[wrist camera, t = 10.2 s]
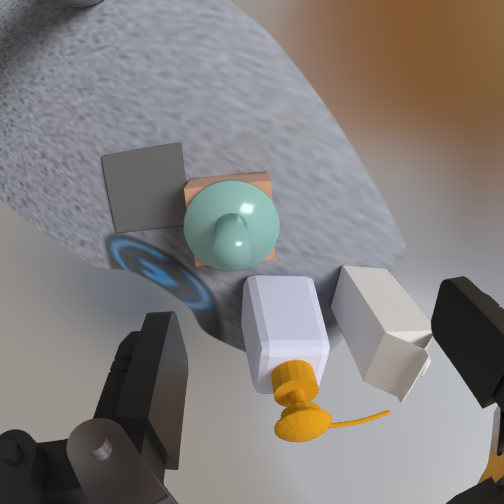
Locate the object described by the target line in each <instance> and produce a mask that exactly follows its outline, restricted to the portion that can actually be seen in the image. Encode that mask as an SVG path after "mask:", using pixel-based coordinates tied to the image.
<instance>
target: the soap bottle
mask: <svg viewBox="0 0 504 504" xmlns="http://www.w3.org/2000/svg"><path fill="white" fill-rule="evenodd" d="M241 327H242V332H243V337H244V342H245V347H246V352H247V357H248V362H249V367H250V372H251V377H252V381H253V385H254V387H255V389H256V391H257V392H259V393H262V394H274V399H275V401H276V402H277V403H278V404H280V405H282V406H285V407H287V408H286V409H284V410H283V412H282V414H281V419H280V420H278V421H277V423H276V425H275V427H274V429H275V434H276V435H277V436H278V437H279V438H280V439H283V440H286V441H290V442H305V441H310V440H312V439H315V438H317V437H319V436H320V435H322V434H323V433H325V432H326V430H327V429H328V428H336V427H343V426H351V425H356V424H361V423H364V422H368V421H371V420H374V419H377V418H380V417H382V416H385V415H388V414H390V411H388V410H386V411H384V412H381V413H378V414H375V415H373V416H370V417H366V418H362V419H358V420H353V421H346V422H339V423H332V417H331V415H330V414H329V413H328V412H327V411H324V410H321V408H320V407H319V406H318V404H316V403H313V402H310V401H312V400H313V399H314V398H315V397H316V395H317V394H318V387H319V384H320V381H321V378H322V375H323V371H324V368H325V365H326V361H327V357H328V354H329V350H330V345H329V341H328V337H327V333H326V329H325V325H324V321H323V317H322V313H321V309H320V305H319V301H318V297H317V293H316V290H315V286H314V282H313V279H311V278H308V277H305V276H266V275H253V276H250V277H248V278H247V279H246V281H245V283H244V285H243V302H242V319H241Z"/></svg>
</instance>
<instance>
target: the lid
mask: <svg viewBox="0 0 504 504" xmlns="http://www.w3.org/2000/svg"><path fill="white" fill-rule="evenodd" d="M279 226H280V224H279V217H278V213H277V211H276V208H275V206H274V204H273V202H272V201H271V199H270V198H269V196H268V195H267V194H266V193H265V192H264V191H263V190H261V189H260V188H259V187H257V186H255V185H253V184H251V183H249V182H246V181H242V180H234V179H230V180H221V181H218V182H214V183H212V184H210V185H208V186H206V187H205V188H203V189H202V190H201V191H200V192H198V193H197V195H196V196H195V197H194V198H193V200H192V201H191V203H190V205H189V207H188V209H187V211H186V214H185V218H184V235H185V239H186V242H187V244H188V246H189V248H190V250H191V251H192V253H193V254H194V255H195V256H196V257H197V258H198V259H199V260H200V261H202V262H203V263H204V264H206V265H208V266H210V267H212V268H215V269H218V270H222V271H241V270H245V269H248V268H251V267H253V266H255V265H257V264H259V263H260V262H261V261H263V260H264V259H265V258H266V257H267V256H268V255H269V254H270V253H271V251H272V250H273V248H274V246H275V244H276V242H277V239H278V236H279Z"/></svg>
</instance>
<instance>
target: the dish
mask: <svg viewBox="0 0 504 504" xmlns="http://www.w3.org/2000/svg"><path fill="white" fill-rule="evenodd" d="M230 179H234V180H242V181H246V182H249V183H251V184H253V185H255V186H257V187H259V188H260V189H261V190H263V191H264V192H265V193H266V194H267V195H268V196H269V198H270V199H271V201H272V187H271V179H270V178H269V176H268V174H267V172H255V173H244V174H233V175H223V176H213V177H204V178H195V179H190V180H189V181H188V183H187V185H186V186H185V188H184V193H185V200H186V207H187V209H188V207H189V205H190V203H191V201H192V200H193V198H194V197H195V196H196V195H197V193H198V192H200V191H201V190H202V189H203V188H205V187H206V186H208V185H210V184H212V183H214V182H218V181H221V180H230ZM194 258H195V264H196V267H197V266H208V265H206V264H204V263H203V262H202V261H200V260H199V259H198V258H197V257H196V256H195V255H194ZM272 259H275V246H274V248H273V250H272V251H271V253H270V254H269V255H268V256H267V257H266V258H265V259H264V260H272Z"/></svg>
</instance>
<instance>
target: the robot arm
mask: <svg viewBox="0 0 504 504" xmlns="http://www.w3.org/2000/svg"><path fill="white" fill-rule="evenodd" d="M60 1H61V2H63V3H65V4H67V5H69V6H71V7H75V8H85V7H89V6H92V5H94V4H97V3H99V2H100V1H102V0H60ZM431 331H432V335H433V337H434V338H435V340H436V341H437V343H438V344H439V345H440V347H441V348H442V350H443V351H444V352H445V354H446V355H447V357H448V358H449V359H450V361H451V362H452V364H453V365H454V366H455V368H456V369H457V371H458V372H459V374H460V375H461V377H462V378H463V380H464V381H465V383H466V384H467V386H468V387H469V389H470V390H471V392H472V393H473V395H474V396H475V398H476V399H477V401H478V402H479V404H480V405H481V407H482V408H485V407H487V406H489V405H491V404H493V403H495V402H496V403H497V404H498V407H497V408H496V410H495V413H494V420H493V431H492V440H491V448H490V455H489V461H488V464H487V467H486V469H485V471H484V473H483V474H482V476H481V478H480V480H479V482H478V484H477V485H475V486H473V487H472V488H470V489H468V490H466V491H464V492H462V493H460V494H458V495H456V496H455V497H453V498H452V499H451V500H450V501H449V502H447V503H446V504H504V309H503V308H502V307H499V304H498V303H497V302H496V301H495V300H494V299H492V298H491V297H490V296H489V295H487V294H485V293H483V292H482V291H481V290H480V289H478V287H476V286H475V285H474V284H473V283H472V282H471V281H470V280H469V279H468V278H466V277H464V276H462V277H456V278H451V279H446V280H443V281H442V283H441V285H440V288H439V293H438V296H437V300H436V304H435V308H434V312H433V316H432V319H431ZM110 371H111V372H109V374H108V377H107V380H106V383H105V385H104V388H103V391H102V394H101V397H100V400H99V402H98V405H97V409H96V411H95V414H94V417H93V419H90V420H87V421H85V422H83V423H81V424H80V425H79V426H77V427H76V428H75V429H74V430H73V431H72V433H71V434H70V436H69V438H68V439H65V440H58V441H50V442H42V443H36V442H35V440H33V438H32V437H31V436H30V435H29V434H28V433H26V432H25V431H22V430H18V429H14V430H9V431H6V432H4V433H3V434H1V435H0V504H179V503H178V502H177V501H176V500H175V499H174V497H173V496H172V495H171V493H170V492H169V491H168V489H167V488H166V487H165V486H164V484H163V483H164V473H165V469H171V470H178V466H179V454H180V442H181V433H182V422H183V413H184V403H185V395H186V386H187V378H188V359H187V353H186V349H185V346H184V342H183V338H182V334H181V330H180V326H179V323H178V319H177V316H176V313H175V312H174V311H172V312H155V313H148V314H147V315H146V318H145V320H144V323H143V326H142V329H141V331H134V332H131V333H130V334H129V335H128V336H127V337H126V338H125V339H124V340H123V341H122V342H121V343H120V345H119V347H118V350H117V353H116V355H115V361H113V363H112V366H111V369H110Z"/></svg>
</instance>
